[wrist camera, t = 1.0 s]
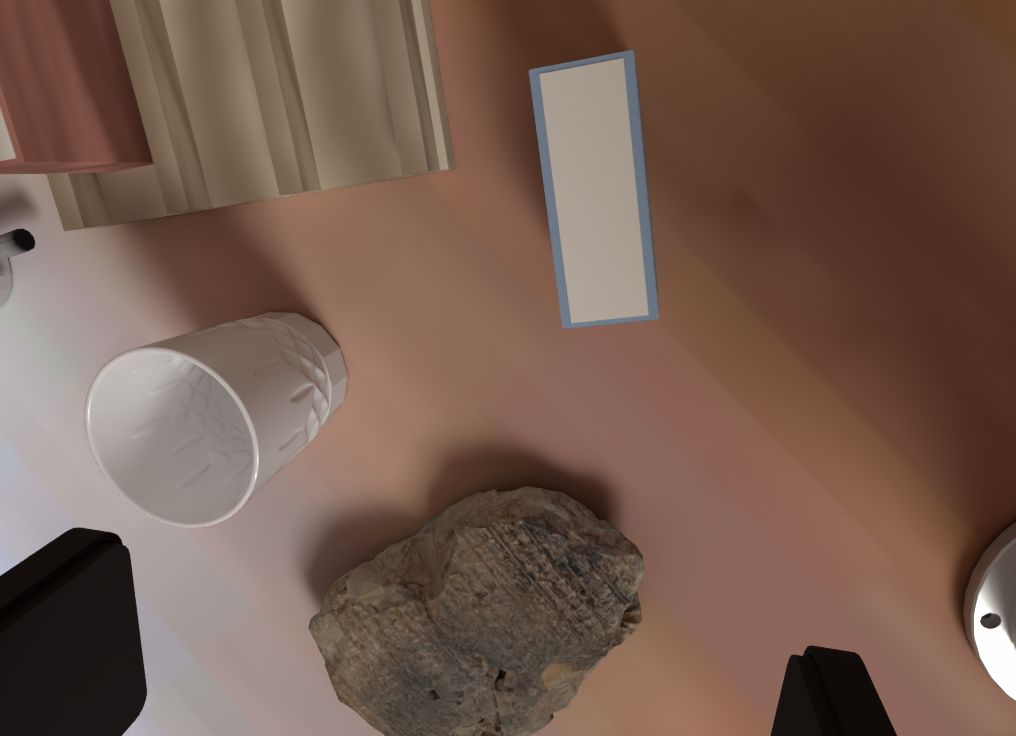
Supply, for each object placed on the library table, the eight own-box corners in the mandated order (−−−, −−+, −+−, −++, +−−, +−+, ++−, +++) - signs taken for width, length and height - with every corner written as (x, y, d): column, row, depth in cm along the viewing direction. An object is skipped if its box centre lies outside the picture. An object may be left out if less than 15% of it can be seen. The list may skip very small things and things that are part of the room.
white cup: (270, 458, 39) (149, 551, 30) (199, 334, 38) (49, 391, 28) (384, 408, 37) (292, 492, 27) (313, 275, 35) (190, 315, 26)
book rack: (400, -174, 29) (290, -321, 20) (455, 168, 32) (383, 171, 24) (17, -63, 33) (-207, -143, 25) (102, 226, 37) (-66, 246, 28)
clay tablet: (554, 414, 35) (296, 595, 41) (542, 453, 31) (254, 650, 37) (715, 612, 37) (444, 758, 43) (727, 677, 32) (422, 829, 39)
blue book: (638, 78, 30) (633, 49, 22) (657, 282, 32) (658, 319, 24) (558, 93, 31) (528, 69, 23) (582, 291, 33) (562, 329, 25)
